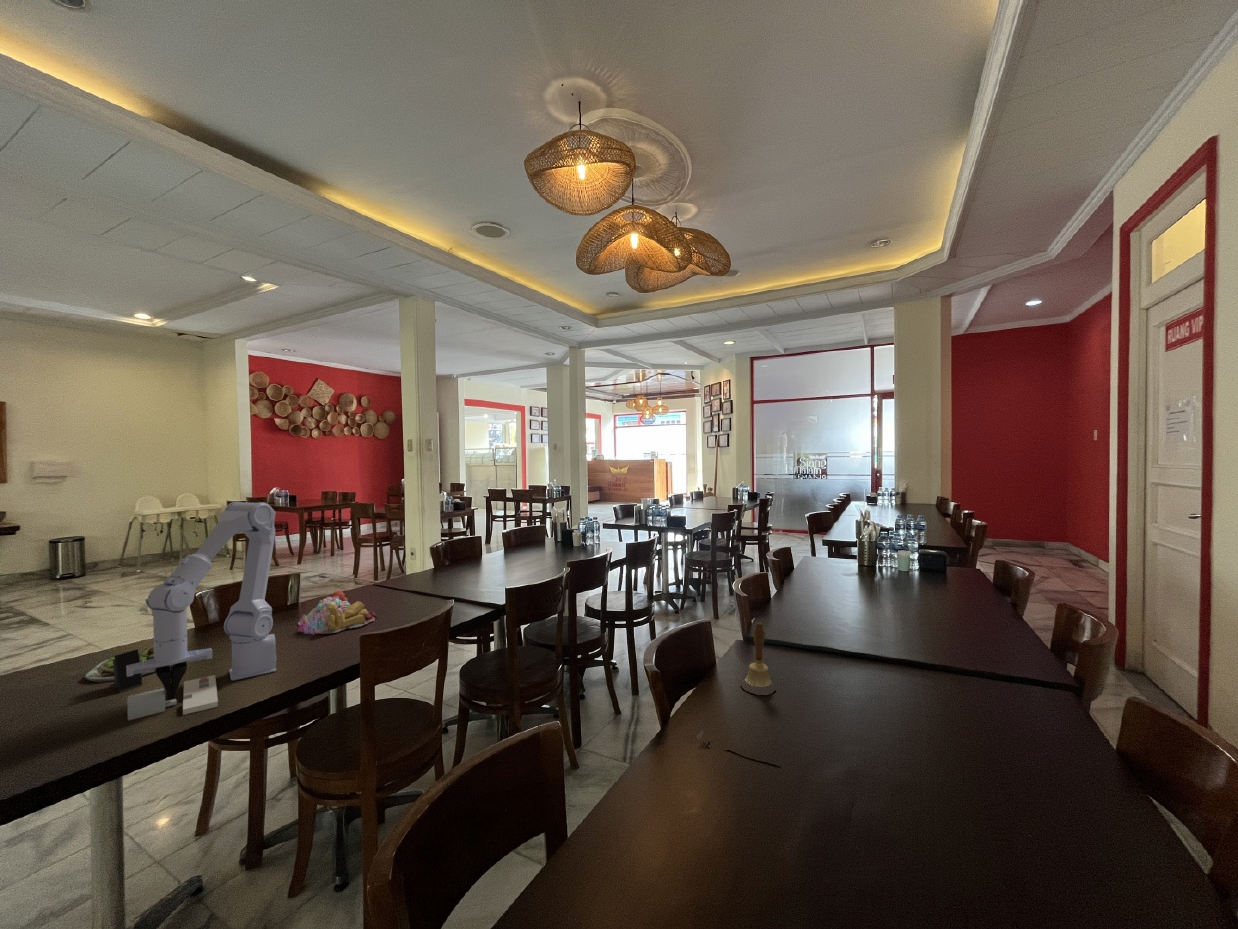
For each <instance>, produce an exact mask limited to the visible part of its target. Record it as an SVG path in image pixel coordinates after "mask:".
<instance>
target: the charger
mask: <svg viewBox="0 0 1238 929" xmlns="http://www.w3.org/2000/svg"><path fill="white" fill-rule="evenodd" d="M165 692H166V691H165V687H161V688H158V689H154V690H149V691H145V692H141V693H135V694H131V695H127V721H132V720H136V719H139V718H144V717H146V716H151V715H156V714H159V713H164V712H166V708H167V707H171V706H175V705H177V703H178V702H177V701H178V700H177V699H172V700H166V693H165Z"/></svg>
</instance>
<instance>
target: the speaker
mask: <svg viewBox="0 0 1238 929" xmlns="http://www.w3.org/2000/svg"><path fill="white" fill-rule="evenodd" d="M140 654H141V652H139V649H137V648H136V649H134V650H130V651H126V652H123V653H119V654H116V655H114V656H113V657H114V658H115V659H113V668H114V672H113V676H114V678H115V681H114V685H115V689H117V693H118V694H121V693H123V692H126V691H129V690H132V689H135V688H138V687H140V686H142V685H143V684H142V682H143V675H142V673H138V674H134V675H133V676H129V677H127V674H126V666H127V665H131V664H135V663H139V662H140Z"/></svg>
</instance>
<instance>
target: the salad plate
mask: <svg viewBox="0 0 1238 929" xmlns="http://www.w3.org/2000/svg"><path fill="white" fill-rule="evenodd" d="M153 658H154V644H152V645H150V646H148V647H146V648H145V649H144V650H143V651H142V652H140V662H142V661H146V660H149V659H153ZM113 659H115V658H114V656H113V657H111V658H108V659H105V660H104V661H102V662H100V663H98V664H97V665H96V666H95V667H94V668H92V669H91V670H89V671H88V672H86V674H85V675H84V678H85V679H86V680H88V681H91V682H95V683H108V681H109V682H115V678H114V675H113V676H105V677H102V676H101V675H102V674H101V672H103V671H104V672H106V673H114V668H113ZM104 672H103V673H104ZM152 673H156V671H155V670H152V671H147V672H143V673H142V676H145V675H149V674H152ZM99 675H100V676H101V677H100V676H99Z"/></svg>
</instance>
